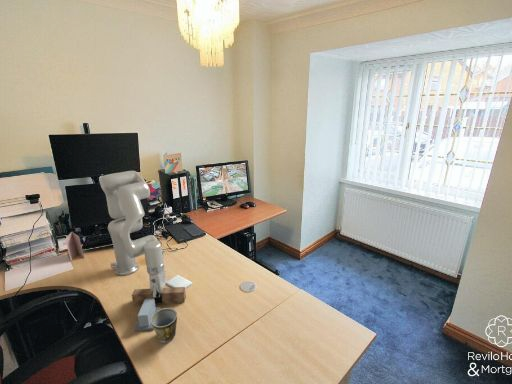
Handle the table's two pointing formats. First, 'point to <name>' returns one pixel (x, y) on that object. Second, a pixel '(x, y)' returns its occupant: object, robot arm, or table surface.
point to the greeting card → (74, 245)
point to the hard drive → (179, 282)
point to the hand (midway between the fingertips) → (160, 299)
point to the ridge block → (146, 315)
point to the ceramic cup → (165, 324)
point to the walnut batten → (167, 295)
